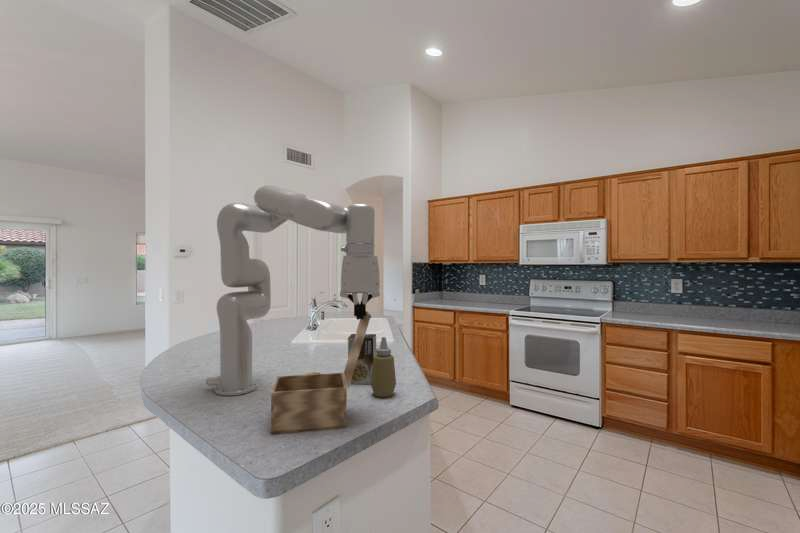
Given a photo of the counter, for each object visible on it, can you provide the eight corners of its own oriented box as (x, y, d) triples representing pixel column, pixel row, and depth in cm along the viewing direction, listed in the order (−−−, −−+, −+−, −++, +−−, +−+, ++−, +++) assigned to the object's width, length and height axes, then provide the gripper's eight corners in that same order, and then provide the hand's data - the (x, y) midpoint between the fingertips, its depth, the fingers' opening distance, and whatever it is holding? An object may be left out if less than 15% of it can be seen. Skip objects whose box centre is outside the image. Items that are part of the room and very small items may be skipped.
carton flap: (369, 314, 93) (371, 315, 93) (363, 308, 106) (365, 309, 106) (346, 387, 92) (349, 388, 92) (343, 372, 105) (345, 373, 105)
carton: (271, 434, 88) (271, 392, 88) (277, 412, 101) (277, 376, 101) (346, 427, 92) (346, 387, 92) (343, 407, 105) (343, 372, 105)
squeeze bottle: (386, 401, 110) (387, 341, 110) (365, 395, 114) (365, 338, 114) (401, 393, 117) (401, 336, 117) (380, 388, 121) (380, 333, 121)
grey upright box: (376, 379, 131) (377, 333, 131) (373, 385, 124) (373, 337, 124) (351, 378, 132) (351, 333, 132) (347, 384, 125) (347, 336, 125)
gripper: (332, 250, 94) (332, 321, 94) (390, 250, 97) (389, 320, 97) (331, 250, 101) (331, 317, 101) (385, 251, 104) (384, 316, 104)
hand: (359, 318), depth 99 cm, fingers closed
